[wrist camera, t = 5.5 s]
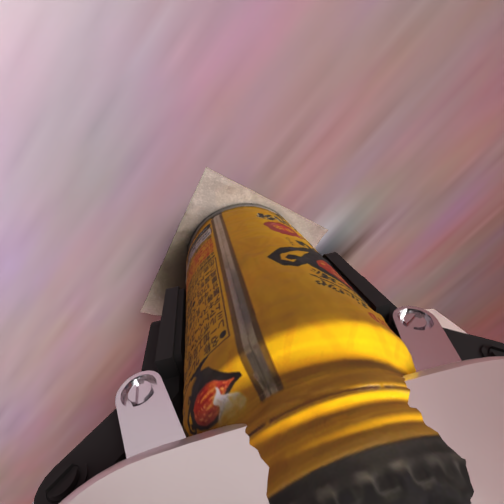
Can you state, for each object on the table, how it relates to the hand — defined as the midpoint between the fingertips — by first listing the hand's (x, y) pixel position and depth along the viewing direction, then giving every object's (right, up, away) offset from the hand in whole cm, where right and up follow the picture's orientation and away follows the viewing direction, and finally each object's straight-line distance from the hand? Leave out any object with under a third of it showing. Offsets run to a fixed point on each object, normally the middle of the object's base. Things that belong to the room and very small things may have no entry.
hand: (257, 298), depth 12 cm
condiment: (-1, +1, +3) cm, 3 cm away
